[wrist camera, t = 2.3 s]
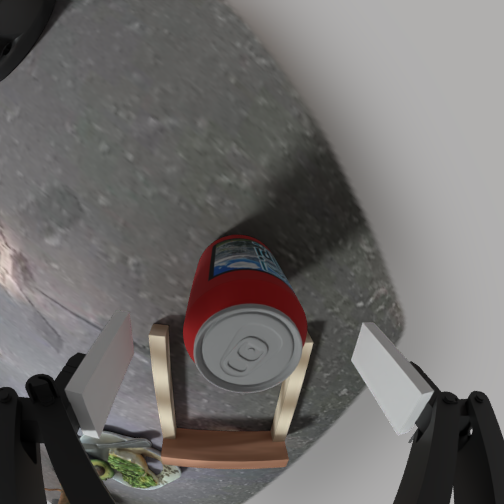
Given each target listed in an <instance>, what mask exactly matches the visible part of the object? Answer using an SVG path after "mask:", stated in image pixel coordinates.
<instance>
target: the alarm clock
mask: <svg viewBox="0 0 504 504" xmlns="http://www.w3.org/2000/svg"><path fill="white" fill-rule="evenodd" d="M58 502H59V500H58V499H52V504H58Z"/></svg>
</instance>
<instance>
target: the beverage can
mask: <svg viewBox="0 0 504 504" xmlns="http://www.w3.org/2000/svg"><path fill="white" fill-rule="evenodd" d="M306 336H307V320H306V316H305V313H304V310H303V308H302V306H301V304H300V302H299V301H298V299H297V297H296V295H295V293H294V291H293V289H292V287H291V286H290V284H289V282H288V280H287V278H286V277H285V275H284V273H283V271H282V270H281V268H280V266H279V264H278V263H277V261H276V259H275V258H274V256H273V254H272V253H271V251H270V250H269V249H268V248H267V247H266V246H265V245H264V244H263V243H262V242H260V241H259V240H257V239H255V238H253V237H250V236H246V235H230V236H226V237H223V238H220V239H218V240H216V241H215V242H213V243H212V244H211V245H210V246H208V247H207V249H206V250H205V251H204V252H203V254H202V256H201V258H200V260H199V263H198V266H197V270H196V273H195V277H194V281H193V285H192V289H191V293H190V297H189V302H188V306H187V311H186V316H185V321H184V326H183V338H184V343H185V347H186V349H187V351H188V353H189V355H190V357H191V359H192V360H193V361H194V362H195V364H196V366H197V368H198V370H199V372H200V373H201V374H202V376H203V377H204V378H205V379H206V380H208V381H209V382H210V383H211V384H213V385H215V386H217V387H219V388H221V389H223V390H226V391H230V392H236V393H255V392H260V391H264V390H267V389H270V388H272V387H274V386H276V385H278V384H280V383H281V382H283V381H284V380H286V379H287V378H288V377H289V376H290V375H291V374H292V373H293V371H294V370H295V369H296V367H297V366H298V364H299V361H300V359H301V356H302V349H303V347H304V344H305V341H306Z"/></svg>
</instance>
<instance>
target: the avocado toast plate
mask: <svg viewBox="0 0 504 504" xmlns="http://www.w3.org/2000/svg"><path fill="white" fill-rule="evenodd" d="M80 441H81V443H82V445H83V447H84V449H85V451H86V453H87V455H88V456H89V458H90V460H91V462H92V464H93V466H94V468H95V469H96V471H97V473H98V475H99V476H100V478H101V480H107V478H108V479H110V478H112V479H114V480H116V481H118V482H120V483H122V484H124V485H127V486H129V487H132V488H137V489H143V490H154V489H157V488H160V487H162V486H164V485H166V484H168V483H169V482H172V481H174V480H176V479H178V478H179V477H180V476H181V472H182V471H181V469H180V467H179V466H174V465H166V464H163V463H162V459H161V451H159V450H157V449H155V448H153V447H151V446H152V442H151V441H150V440H148V439H146V438H132V437H128V436H124V435H120V434H117V433H113V432H108V431H102V434H101V436H100V439H98V438H94V437H90V436H87V435H84V434H83V435H82V437H81V438H80ZM146 457H151V458H155V459H157V460H160V461H161V463H162V464H163V470H162V472H161V473H160V474H158V475H155V474H154V472H152V471H151V470H150V469H148V466H147V463H146V461H145V460H146Z"/></svg>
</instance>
